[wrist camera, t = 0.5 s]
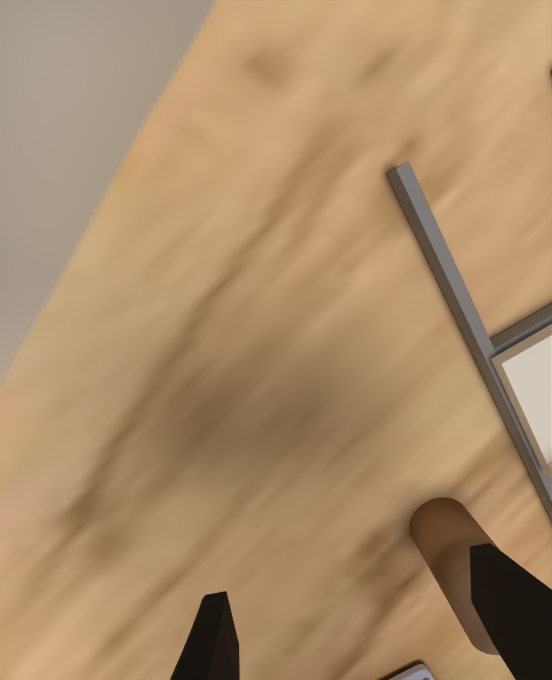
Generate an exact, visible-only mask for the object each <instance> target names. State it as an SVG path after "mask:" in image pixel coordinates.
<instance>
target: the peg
mask: <svg viewBox="0 0 552 680" xmlns="http://www.w3.org/2000/svg"><path fill="white" fill-rule="evenodd" d="M410 533H411V536H412V538H413V540H414V541H415V543H416V545H417V547H418V549H419V550H420V552H421V554H422V556H423V558H424V559H425V561H426V563H427V565H428V566H429V568H430V570H431V572H432V574H433V575H434V577H435V579H436V581H437V582H438V584H439V586H440V588H441V590H442V591H443V593H444V595H445V597H446V599H447V600H448V602H449V604H450V606H451V607H452V609H453V611H454V613H455V615H456V616H457V618H458V620H459V622H460V624H461V625H462V627H463V629H464V631H465V632H466V634H467V636H468V638H469V640H470V641H471V643H472V644H473V646H474V647H476V648H477V649H478V650H480V651H482V652H484V653H487V654H491V655H500V654H499V652H498V651H497V649H496V648H495V646H494V644H493V643H492V641H491V639H490V637H489V635H488V633H487V631H486V630H485V628H484V626H483V624H482V622H481V620H480V618H479V616H478V614H477V612H476V610H475V608H474V606H473V604H472V602H471V577H470V546H475V545H480V544H486V543H491V544H492V545H494V546H495V547H496V548H498V547H497V546H496V545H495V544H494V542H493V541H492V540H491V539H490V538H489V536H488V535H487V534H486V533H485V532H484V530H483V529H482V528H481V527H480V525H479V524H478V523H477V522H476V521H475V519H474V518H473V517H472V516H471V515H470V513H469V512H468V511H467V510H466V509H465V507H464V506H463V505H462V504H461V503H459V502H458V501H456V500H453V499H450V498H438V499H434V500H431V501H429V502H427V503H425V504H423V505H422V506H421V507H420V508H419V509H418V510H417V511H416V512H415V513H414V515H413V517H412V519H411V522H410ZM498 549H499V548H498Z"/></svg>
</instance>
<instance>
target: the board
mask: <svg viewBox="0 0 552 680" xmlns="http://www.w3.org/2000/svg"><path fill="white" fill-rule="evenodd" d="M551 73H552V71H551ZM386 175H387V177H388V179H389V181H390V184H391V186H392V188H393V190H394V192H395V194H396V196H397V198H398V200H399V202H400V204H401V207H402V209H403V211H404V213H405V215H406V217H407V219H408V221H409V223H410V225H411V228H412V230H413V232H414V234H415V236H416V238H417V240H418V242H419V244H420V246H421V249H422V251H423V253H424V255H425V257H426V259H427V261H428V263H429V265H430V267H431V269H432V272H433V274H434V276H435V278H436V280H437V282H438V284H439V286H440V288H441V290H442V293H443V295H444V297H445V299H446V301H447V303H448V305H449V307H450V309H451V311H452V314H453V316H454V318H455V320H456V322H457V324H458V326H459V328H460V330H461V332H462V334H463V337H464V339H465V341H466V343H467V345H468V347H469V349H470V351H471V353H472V355H473V358H474V360H475V362H476V364H477V366H478V368H479V370H480V372H481V374H482V376H483V379H484V381H485V383H486V385H487V387H488V389H489V391H490V393H491V395H492V397H493V399H494V402H495V404H496V406H497V408H498V410H499V412H500V414H501V416H502V418H503V420H504V423H505V425H506V427H507V429H508V431H509V433H510V435H511V437H512V439H513V441H514V444H515V446H516V448H517V450H518V452H519V454H520V456H521V458H522V460H523V462H524V464H525V467H526V469H527V471H528V473H529V475H530V477H531V479H532V481H533V483H534V485H535V488H536V490H537V492H538V494H539V496H540V498H541V500H542V502H543V504H544V506H545V509H546V511H547V513H548V515H549V517H550V519H551V521H552V478H551V477H549V476H548V475H547V474H545V473H544V472H543V471H542V468H541V466H540V464H539V462H538V460H537V458H536V455H535V453H534V451H533V449H532V447H531V445H530V443H529V440H528V438H527V436H526V434H525V432H524V430H523V427H522V425H521V423H520V421H519V419H518V417H517V414H516V412H515V410H514V408H513V406H512V404H511V402H510V399H509V397H508V395H507V393H506V391H505V389H504V386H503V384H502V382H501V380H500V378H499V376H498V373H497V371H496V369H495V367H494V365H493V363H492V361H491V358H493V357H495V356H497V355H498V354H500V353H502V352H504V351H505V350H507V349H509V348H511V347H512V346H514V345H516V344H518V343H519V342H521V341H523V340H525V339H526V338H528V337H530V336H532V335H533V334H535V333H537V332H539V331H540V330H542V329H544V328H546V327H547V326H549V325H551V324H552V304H550V305H548V306H547V307H545V308H543V309H541V310H540V311H538V312H536V313H535V314H533V315H531V316H529V317H528V318H526V319H524V320H522V321H521V322H519V323H517V324H515V325H514V326H512V327H510V328H509V329H507V330H505V331H503V332H502V333H500V334H498V335H496V336H495V337H493V338H491V339H490V338H489V336H488V334H487V332H486V330H485V328H484V325H483V323H482V321H481V319H480V317H479V314H478V312H477V310H476V308H475V306H474V303H473V301H472V299H471V297H470V295H469V293H468V290H467V288H466V286H465V284H464V282H463V279H462V277H461V275H460V273H459V271H458V268H457V266H456V264H455V262H454V260H453V257H452V255H451V253H450V251H449V249H448V247H447V244H446V242H445V240H444V238H443V236H442V233H441V231H440V229H439V227H438V225H437V222H436V220H435V218H434V216H433V214H432V212H431V209H430V207H429V205H428V203H427V201H426V198H425V196H424V194H423V192H422V190H421V187H420V185H419V183H418V181H417V179H416V176H415V174H414V172H413V170H412V168H411V166H410V163H409V161H408V162H406V163H404V164H403V165H401V166H399V167H397V168H396V169H394V170H393V171H391V172H389V173H388V174H386Z"/></svg>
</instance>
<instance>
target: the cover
mask: <svg viewBox="0 0 552 680" xmlns="http://www.w3.org/2000/svg"><path fill="white" fill-rule="evenodd" d="M491 361H492V363H493V365H494V367H495V369H496V371H497V373H498V376H499V378H500V380H501V382H502V384H503V386H504V389H505V391H506V393H507V395H508V397H509V399H510V402H511V404H512V406H513V408H514V410H515V412H516V414H517V417H518V419H519V421H520V423H521V425H522V427H523V430H524V432H525V434H526V436H527V438H528V440H529V443H530V445H531V447H532V449H533V451H534V453H535V455H536V458H537V460H538V462H539V464H540V466H541V468H542V471H543V472H544V473H545V474H547V475H548V476H549V477H551V478H552V324H551V325H549V326H547V327H546V328H544V329H542V330H540V331H539V332H537V333H535V334H533V335H532V336H530V337H528V338H526V339H525V340H523V341H521V342H519V343H518V344H516V345H514V346H512V347H511V348H509V349H507V350H505V351H504V352H502V353H500V354H498V355H497V356H495V357H493V358H491Z"/></svg>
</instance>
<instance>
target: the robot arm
mask: <svg viewBox="0 0 552 680" xmlns="http://www.w3.org/2000/svg"><path fill="white" fill-rule="evenodd" d="M470 577H471V602H472V604H473V606H474V608H475V610H476V612H477V614H478V616H479V618H480V620H481V622H482V624H483V626H484V628H485V630H486V631H487V633H488V635H489V637H490V639H491V641H492V643H493V644H494V646H495V648H496V649H497V651H498V652H499V654H500V656H501V657H502V659H503V660H504V662H505V664H506V665H507V667H508V668H509V670H510V671H511V673H512V675H513V676H514V678H515V679H516V680H552V589H550V588H549V587H547V586H546V585H545V584H543V583H542V582H541V581H539V580H538V579H537V578H536V577H534V576H533V575H532V574H530V573H529V572H528V571H526V570H525V569H524V568H522V567H521V566H520V565H518V564H517V563H516V562H515V561H513V560H512V559H511V558H509V557H508V556H507V555H505V554H504V553H503V552H501V551H500V550H499V549H498V548H496V547H495V546H494V545H492V544H491V543H486V544H480V545H475V546H470ZM170 680H240V679H239V643H238V638H237V634H236V630H235V626H234V621H233V617H232V613H231V609H230V605H229V600H228V596H227V592H226V591H224V592H219V593H214V594H208V595H205V596H204V597H203V599H202V601H201V604H200V607H199V610H198V613H197V615H196V618H195V621H194V623H193V626H192V629H191V631H190V634H189V636H188V639H187V641H186V644H185V646H184V649H183V651H182V653H181V656H180V658H179V660H178V662H177V665H176V667H175V669H174V672H173V674H172V676H171V678H170ZM389 680H435V678H434V677H433V675H432V674H431V672H430V671H429V670H428V668H427V667H426V666H425V665H423V664H418V665H416V666H414V667H412V668H410V669H408V670H406V671H404V672H402V673H400V674H398V675H396V676H394V677H392V678H390V679H389Z"/></svg>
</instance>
